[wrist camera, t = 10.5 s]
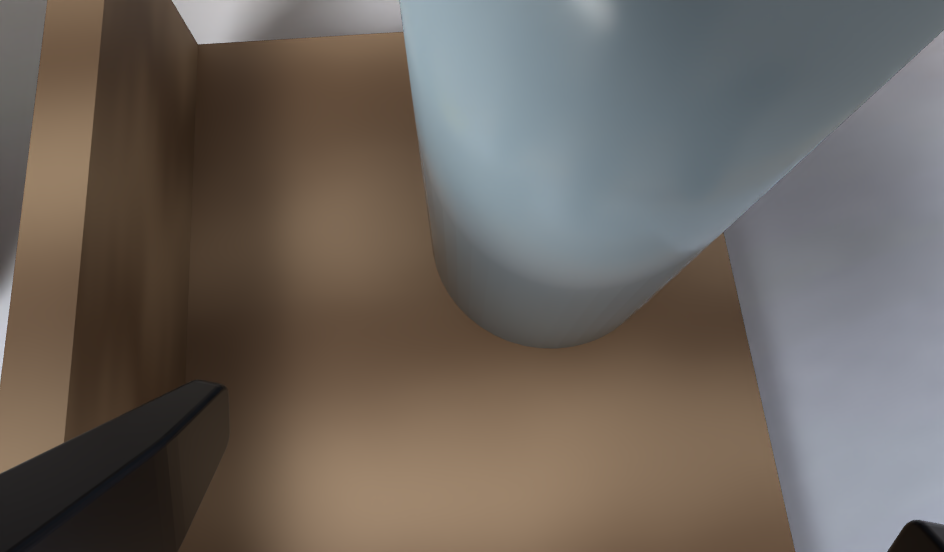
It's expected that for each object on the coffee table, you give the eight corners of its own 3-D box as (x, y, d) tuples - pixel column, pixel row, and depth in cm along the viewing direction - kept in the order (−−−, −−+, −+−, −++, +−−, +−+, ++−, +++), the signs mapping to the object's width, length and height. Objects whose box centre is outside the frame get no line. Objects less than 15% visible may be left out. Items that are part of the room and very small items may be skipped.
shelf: (776, 709, 17) (1037, 903, 9) (170, 783, 16) (-83, 1061, 9) (647, 72, 23) (743, -129, 15) (196, 102, 22) (59, -94, 14)
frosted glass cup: (704, 288, 17) (1325, -180, 5) (492, 388, 16) (588, 127, 4) (592, 102, 19) (843, -603, 7) (395, 183, 18) (249, -451, 6)
